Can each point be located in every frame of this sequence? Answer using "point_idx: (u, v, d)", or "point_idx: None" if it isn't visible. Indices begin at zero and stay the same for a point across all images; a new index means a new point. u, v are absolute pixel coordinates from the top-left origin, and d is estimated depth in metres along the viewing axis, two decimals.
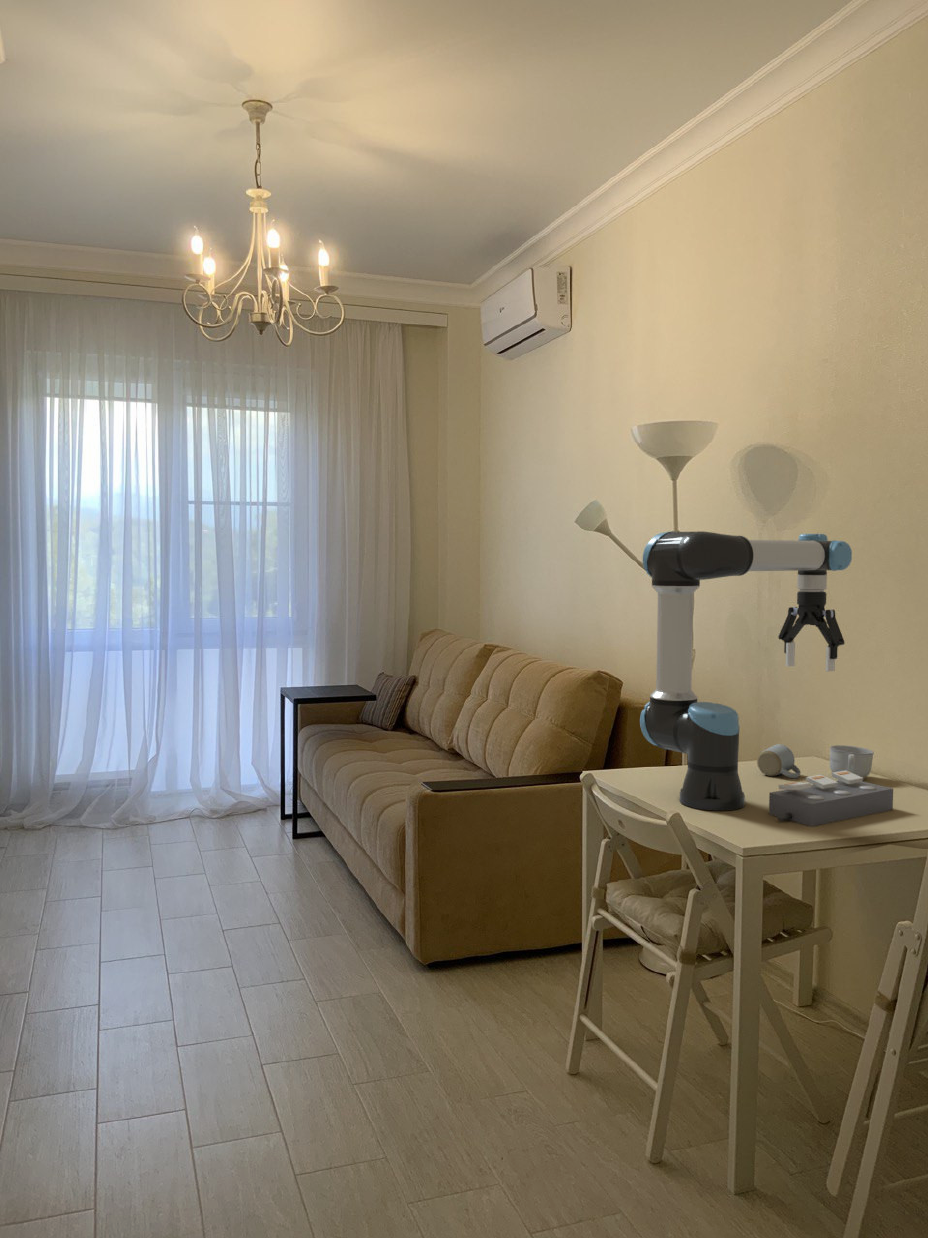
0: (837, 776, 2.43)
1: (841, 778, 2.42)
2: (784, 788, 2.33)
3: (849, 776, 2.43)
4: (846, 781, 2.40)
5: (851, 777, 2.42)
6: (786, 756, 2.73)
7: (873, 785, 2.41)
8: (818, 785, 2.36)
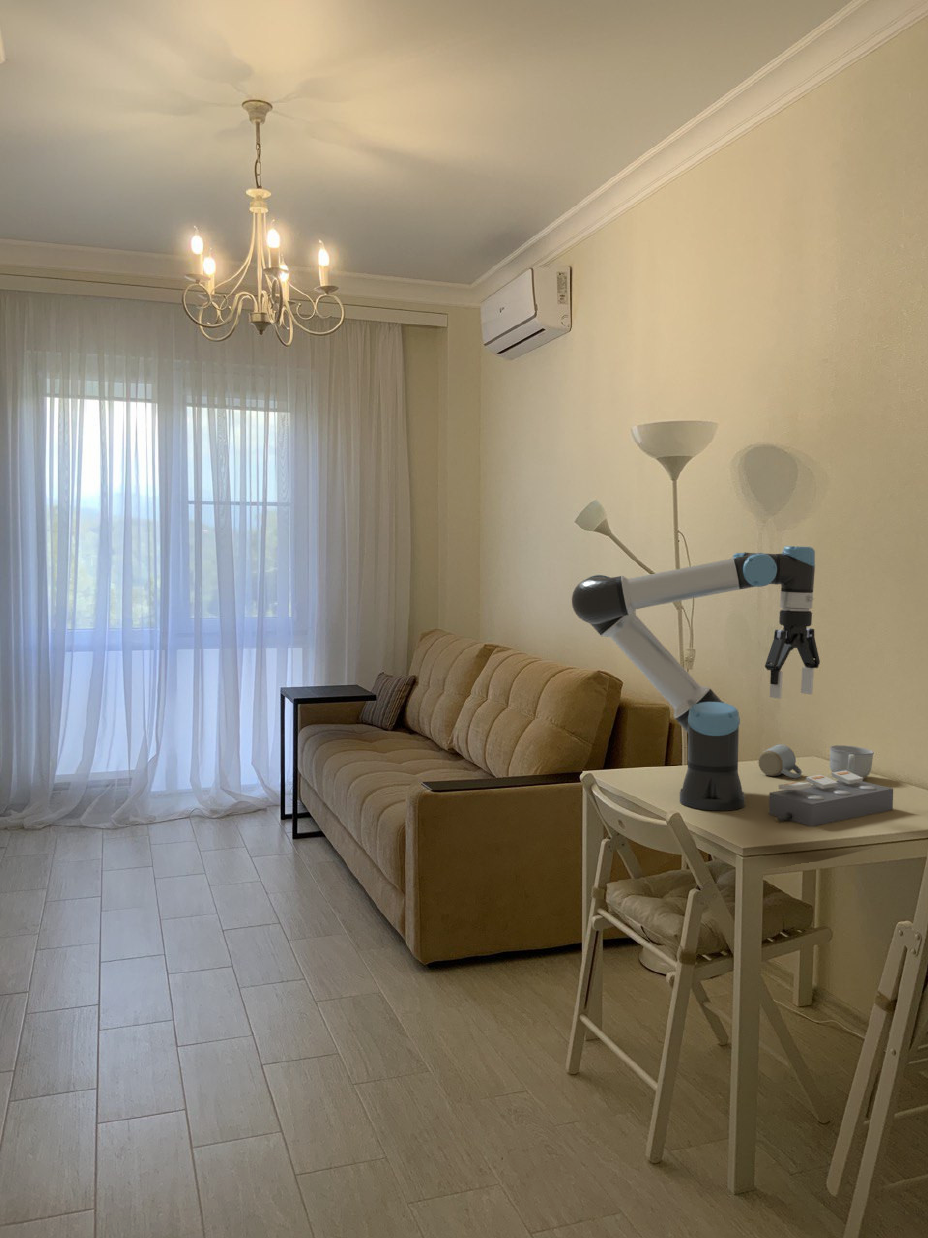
0: (837, 776, 2.43)
1: (841, 778, 2.42)
2: (784, 788, 2.33)
3: (849, 776, 2.43)
4: (846, 781, 2.40)
5: (851, 777, 2.42)
6: (787, 756, 2.73)
7: (873, 785, 2.41)
8: (818, 785, 2.36)
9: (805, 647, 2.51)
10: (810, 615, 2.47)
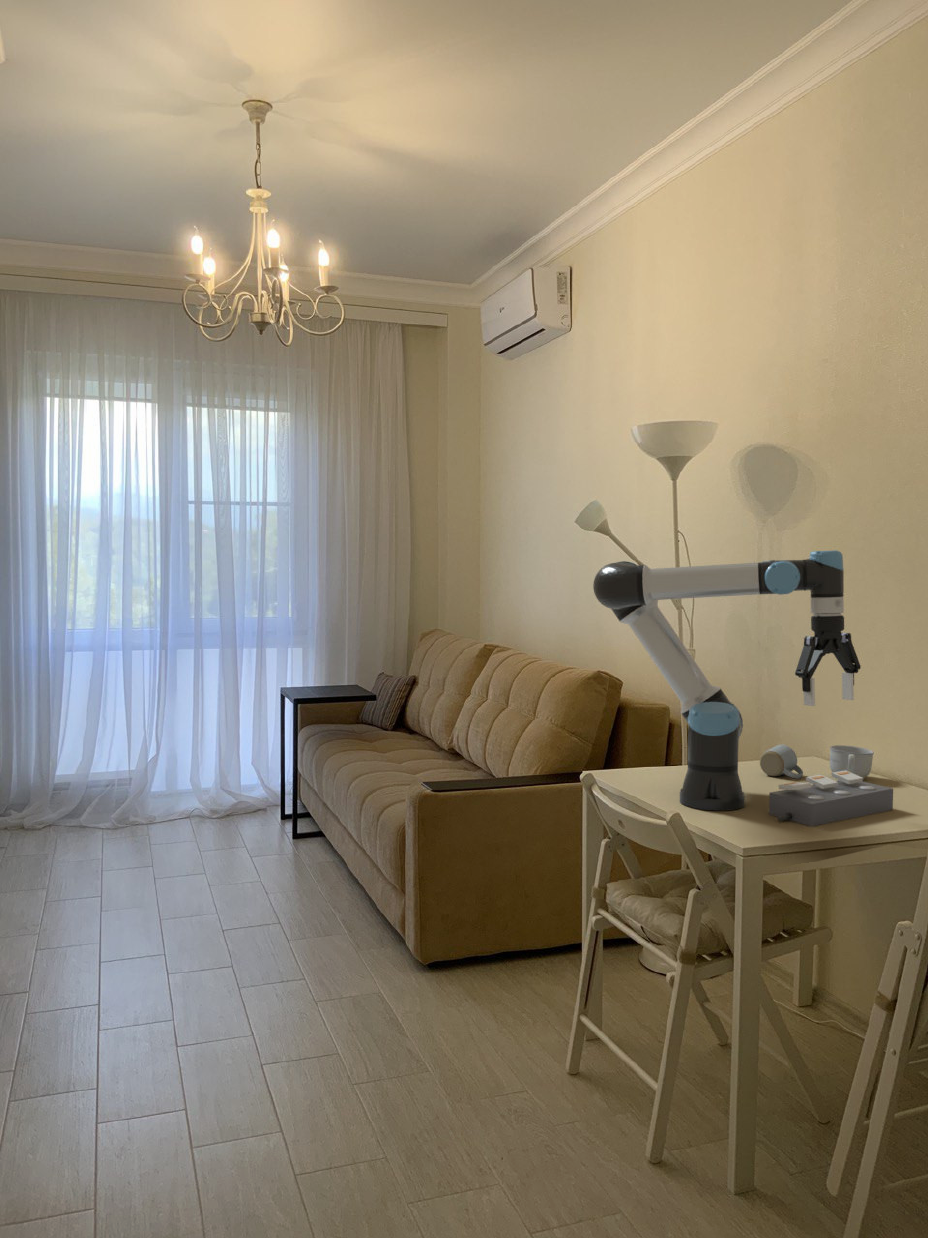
0: (837, 776, 2.43)
1: (841, 778, 2.42)
2: (784, 788, 2.33)
3: (849, 776, 2.43)
4: (846, 781, 2.40)
5: (851, 777, 2.42)
6: (789, 756, 2.73)
7: (873, 785, 2.41)
8: (818, 785, 2.36)
9: (840, 652, 2.47)
10: (841, 619, 2.43)
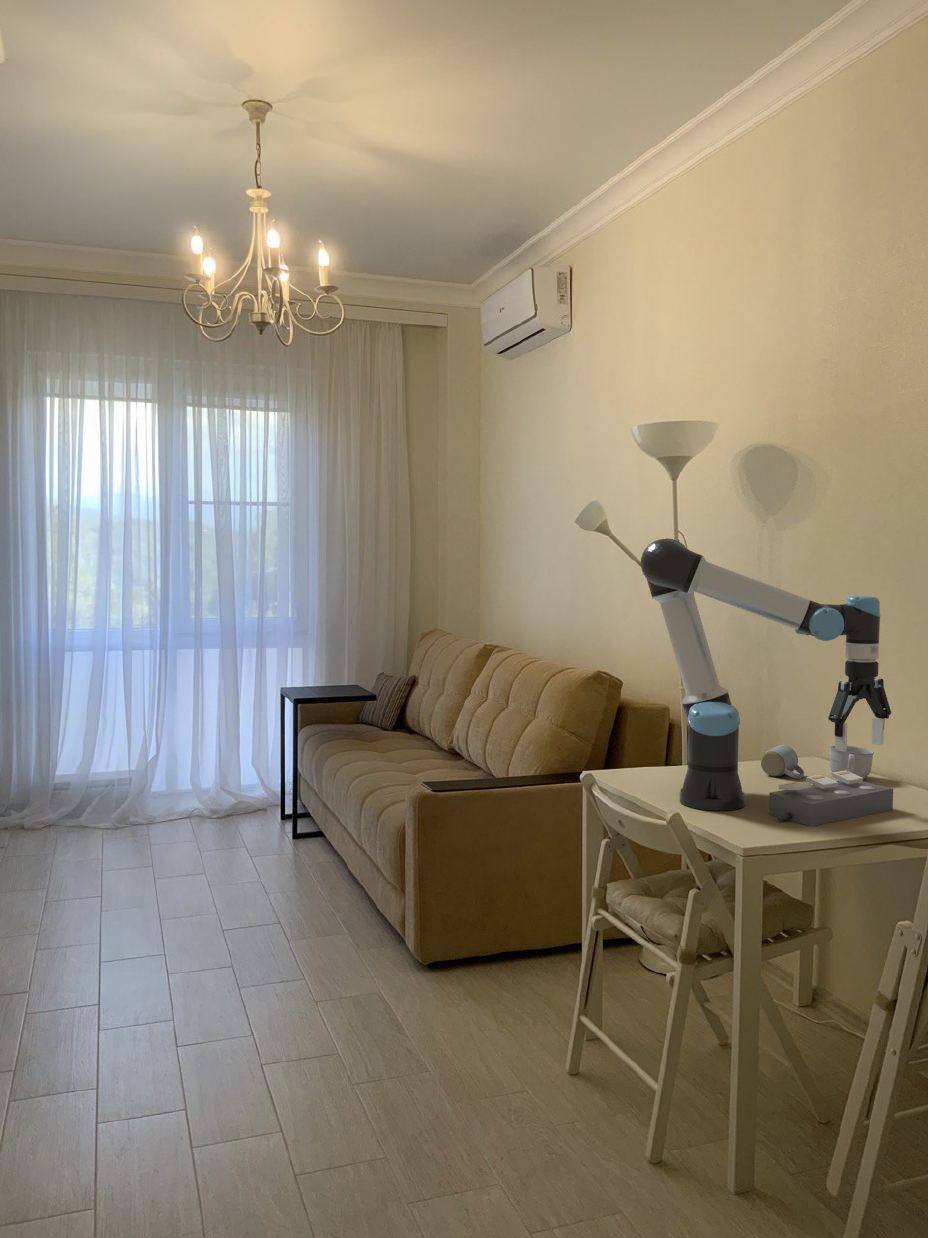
0: (837, 776, 2.43)
1: (841, 778, 2.42)
2: (784, 788, 2.33)
3: (849, 776, 2.43)
4: (846, 781, 2.40)
5: (851, 777, 2.42)
6: (790, 757, 2.72)
7: (873, 785, 2.41)
8: (818, 785, 2.36)
9: (873, 698, 2.48)
10: (876, 666, 2.44)
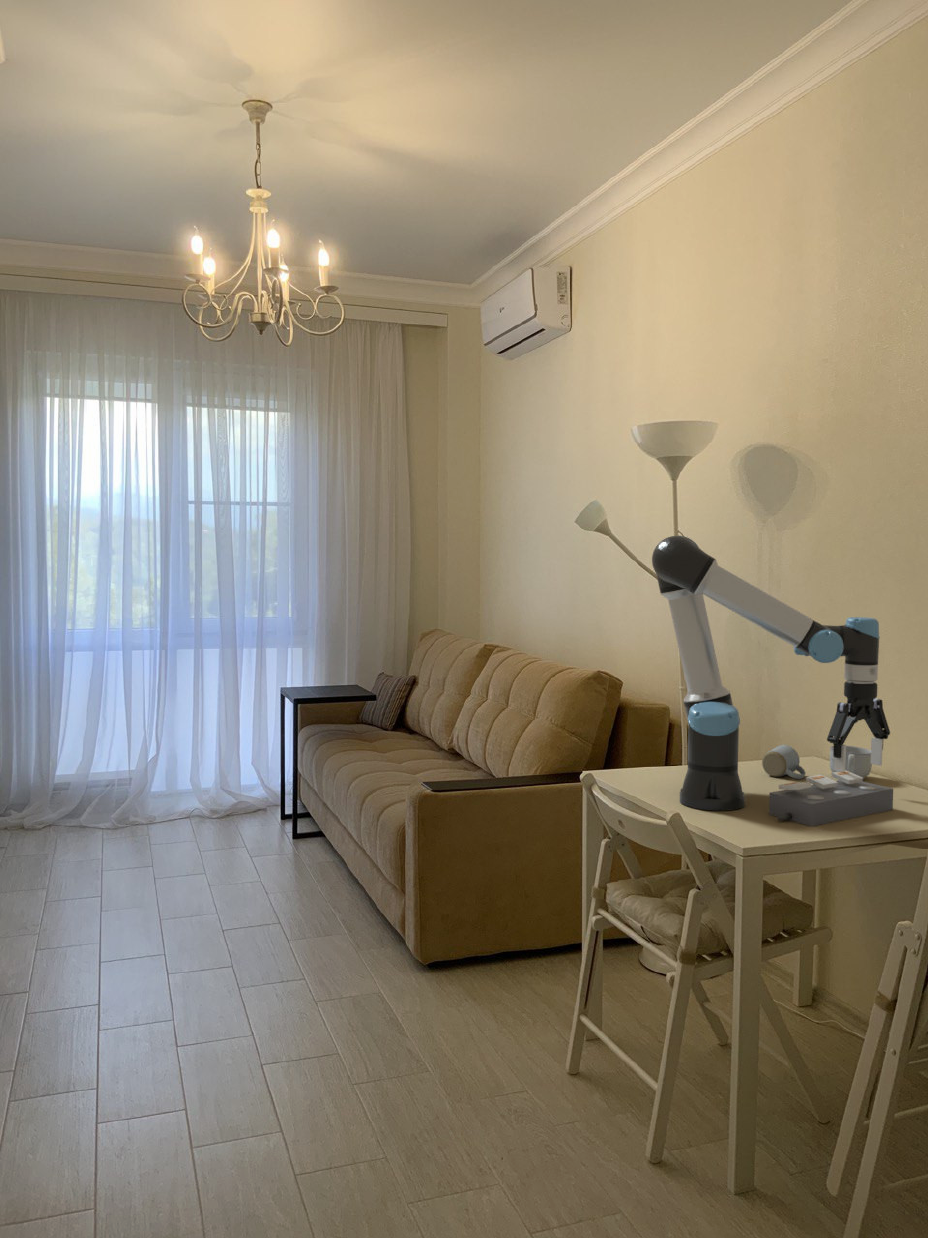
0: (837, 776, 2.43)
1: (841, 778, 2.42)
2: (784, 788, 2.33)
3: (849, 776, 2.43)
4: (846, 781, 2.40)
5: (851, 777, 2.42)
6: (791, 757, 2.72)
7: (873, 785, 2.41)
8: (818, 785, 2.36)
9: (872, 719, 2.48)
10: (875, 688, 2.45)
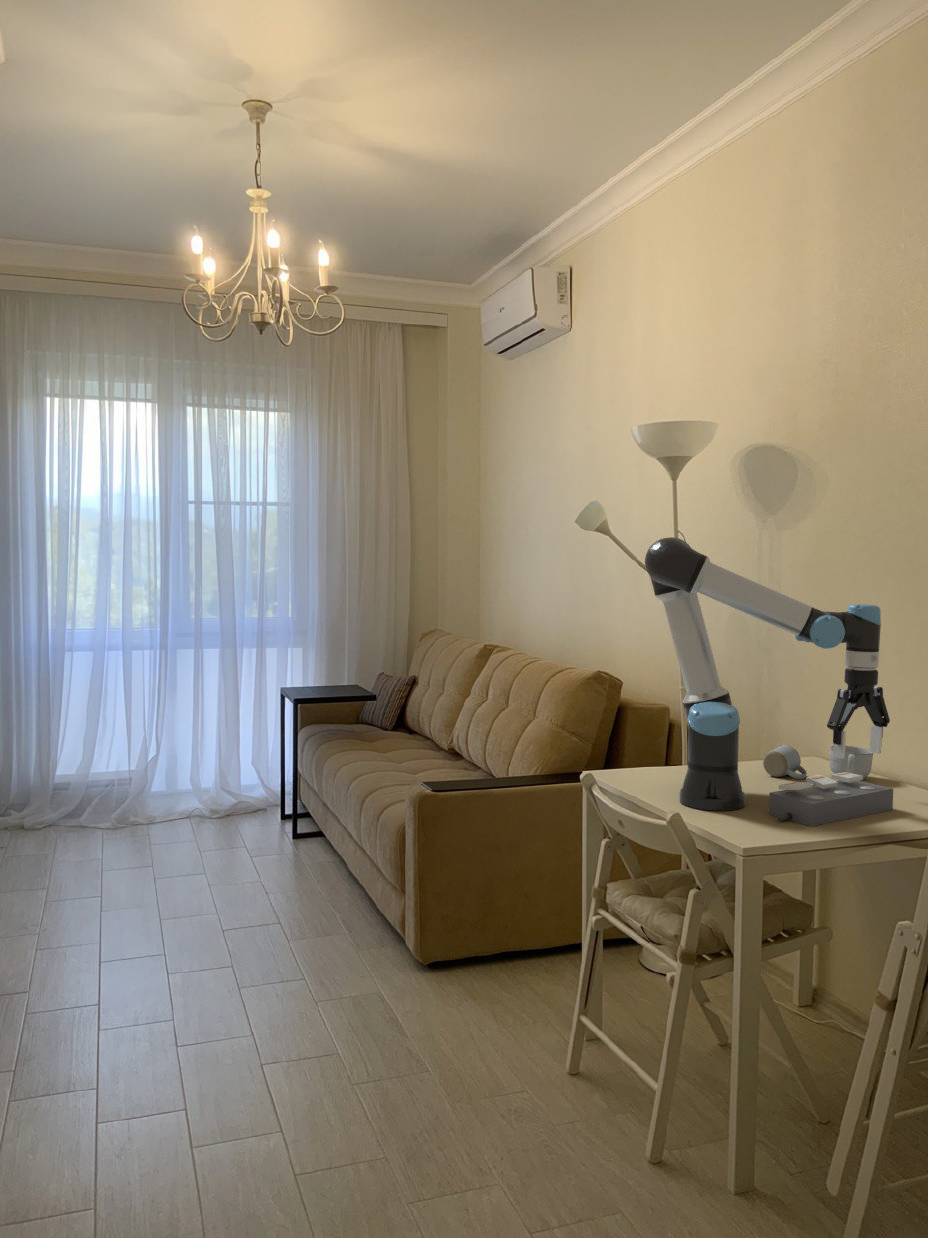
0: (837, 777, 2.43)
1: (841, 778, 2.42)
2: (784, 788, 2.33)
3: (848, 775, 2.43)
4: (846, 779, 2.40)
5: (851, 776, 2.42)
6: (792, 757, 2.72)
7: (873, 785, 2.41)
8: (818, 785, 2.36)
9: (872, 706, 2.48)
10: (875, 674, 2.44)
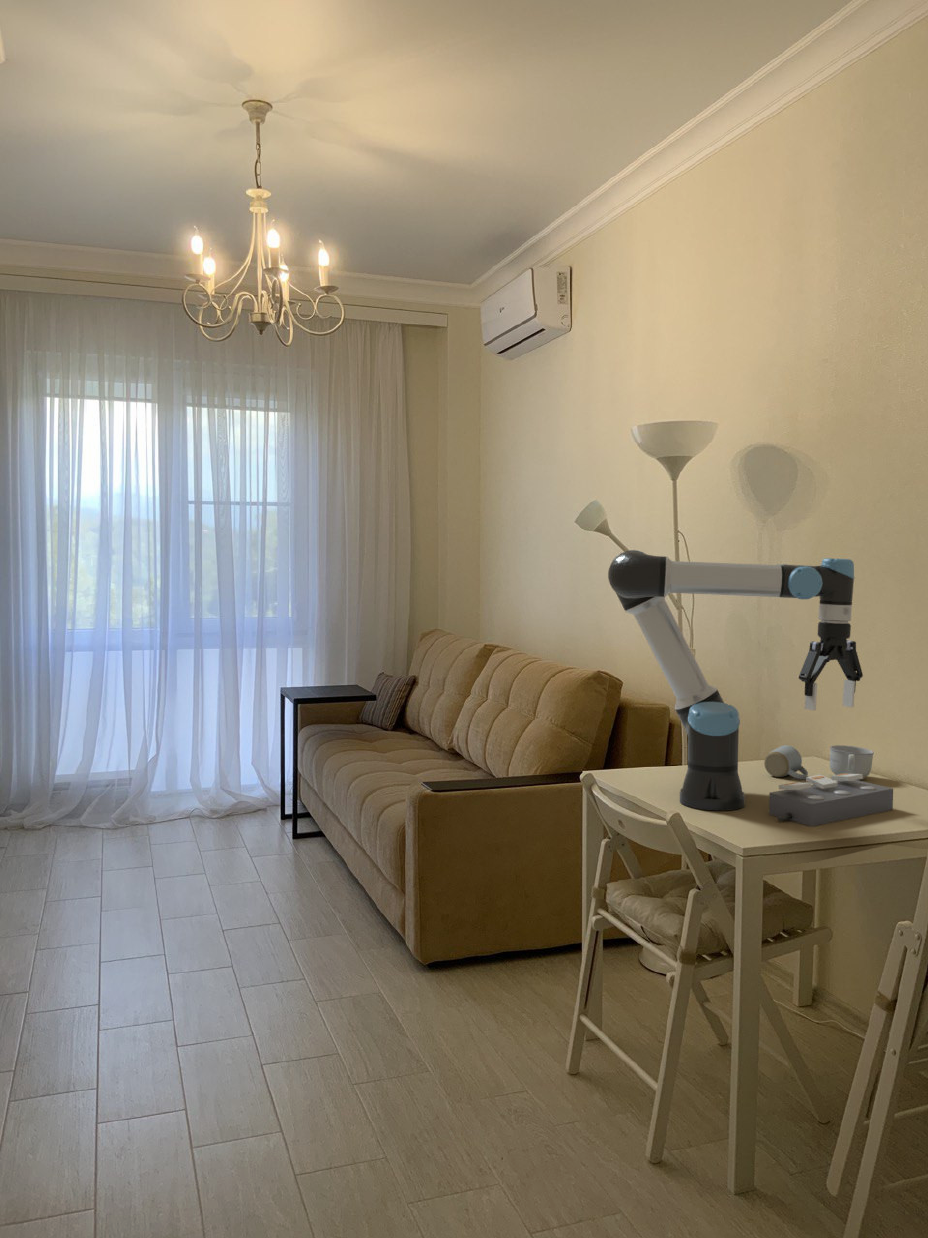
0: (836, 777, 2.43)
1: (841, 777, 2.42)
2: (784, 788, 2.33)
3: (848, 775, 2.43)
4: (846, 778, 2.40)
5: (850, 775, 2.42)
6: (793, 757, 2.72)
7: (873, 785, 2.41)
8: (818, 785, 2.36)
9: (844, 659, 2.51)
10: (848, 627, 2.47)
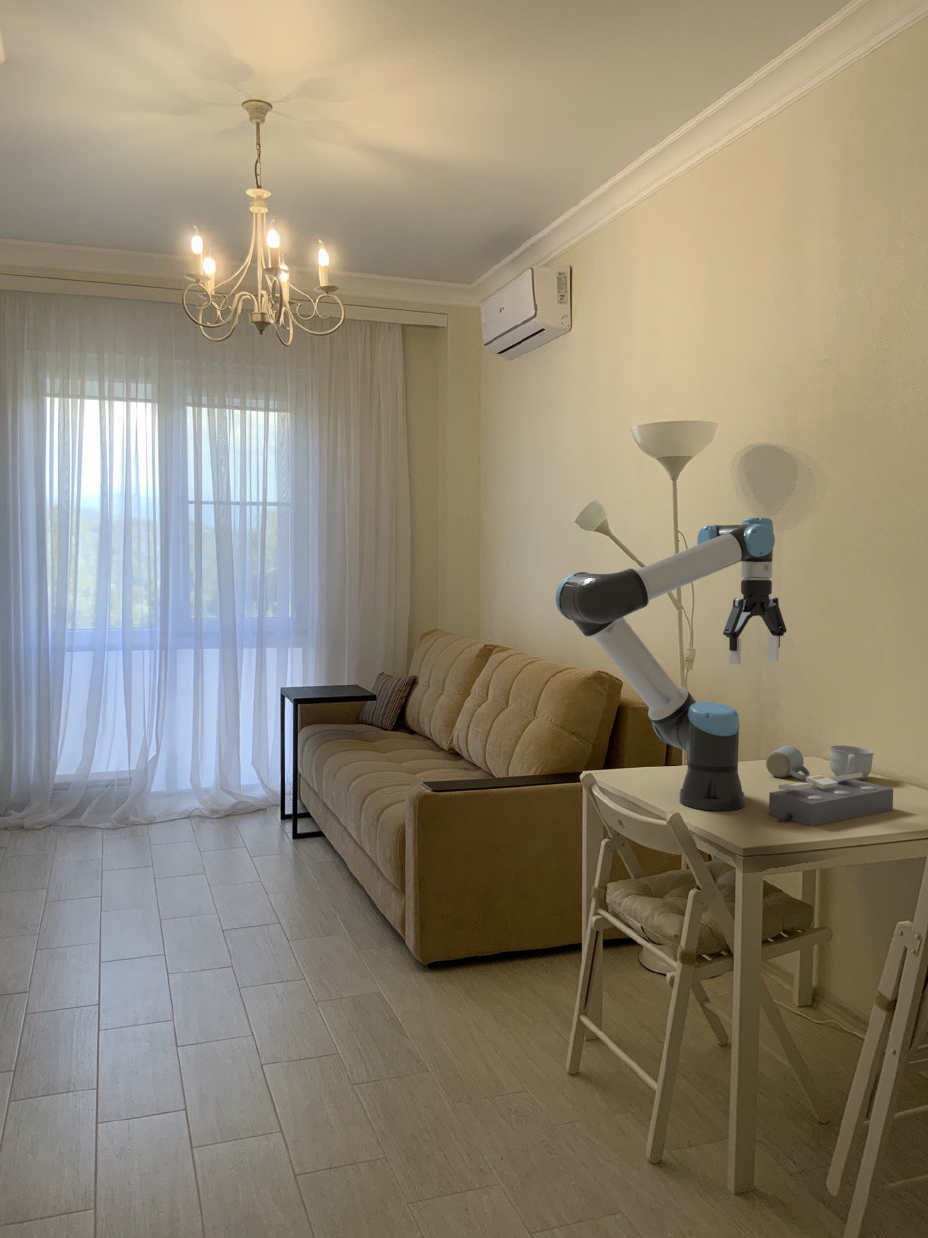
0: (836, 778, 2.43)
1: (840, 777, 2.42)
2: (784, 788, 2.33)
3: None
4: (846, 777, 2.41)
5: None
6: (795, 757, 2.71)
7: (873, 785, 2.41)
8: (818, 785, 2.36)
9: (767, 615, 2.60)
10: (769, 584, 2.56)
